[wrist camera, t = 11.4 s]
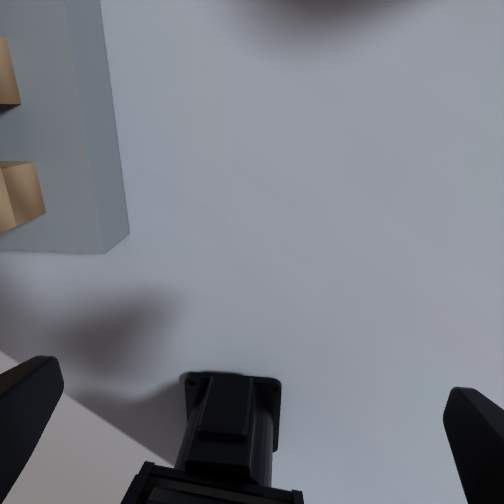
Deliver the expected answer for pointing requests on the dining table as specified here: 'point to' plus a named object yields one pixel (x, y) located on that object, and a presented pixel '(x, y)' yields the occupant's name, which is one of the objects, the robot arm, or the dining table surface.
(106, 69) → the dock
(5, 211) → the shallow cardboard tray
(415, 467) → the dining table surface
